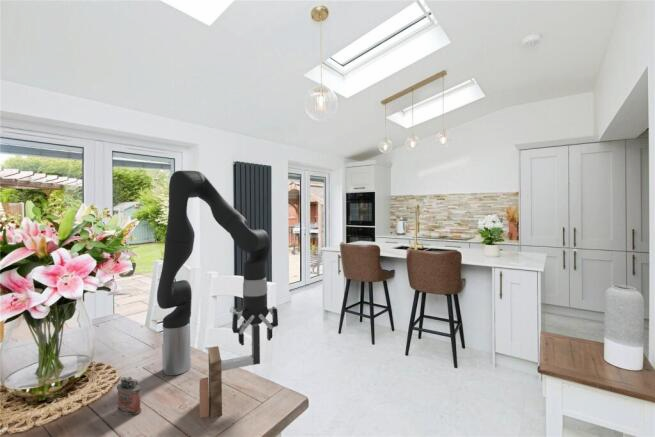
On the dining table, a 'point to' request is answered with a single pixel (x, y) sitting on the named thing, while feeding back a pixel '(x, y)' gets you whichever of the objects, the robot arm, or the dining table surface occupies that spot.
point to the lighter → (129, 397)
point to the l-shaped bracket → (246, 360)
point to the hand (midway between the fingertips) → (255, 342)
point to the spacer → (204, 397)
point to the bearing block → (215, 381)
